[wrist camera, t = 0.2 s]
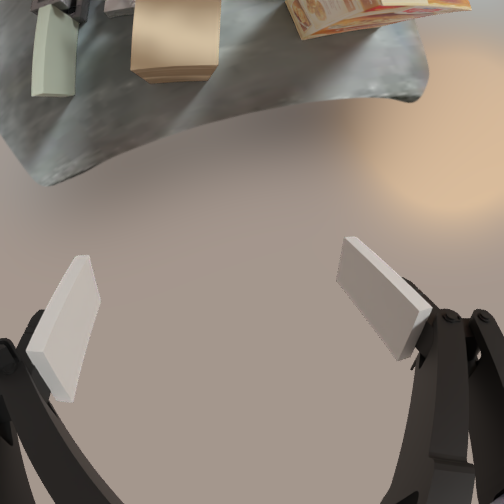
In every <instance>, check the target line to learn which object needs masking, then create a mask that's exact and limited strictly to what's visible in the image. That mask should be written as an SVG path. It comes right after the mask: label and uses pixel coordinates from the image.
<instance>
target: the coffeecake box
mask: <svg viewBox="0 0 504 504" xmlns="http://www.w3.org/2000/svg"><path fill="white" fill-rule="evenodd" d="M285 3H286V5H287V8H288V10H289V12H290V14H291V16H292V19H293V21H294V23H295V26H296V29H297V31H298V33H299V36H300V38H301V40H307V39H312V38H317V37H321V36H326V35H332V34H337V33H343V32H349V31H355V30H361V29H369V28H377V27H382V26H385V25H389V24H393V23H397V22H401V21H406V20H410V19H415V18H420V17H425V16H430V15H436V14H443V13H450V12H458V11H471V6H470V3H469V1H468V0H286V1H285Z"/></svg>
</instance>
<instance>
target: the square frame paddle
mask: <svg viewBox="0 0 504 504" xmlns="http://www.w3.org/2000/svg"><path fill="white" fill-rule="evenodd" d="M89 2H90V0H33V1H32V6H31V12H33V13H35V14H37V15H38V18H37V25H36V32H35V40H34V50H33V63H32V88H31V97H68V96H73V95H75V70H76V51H77V39H78V29H79V23H83V22H87V17H88V9H89ZM75 6H76V11H75V13H71V14H68V11H69V8H71V7H75Z"/></svg>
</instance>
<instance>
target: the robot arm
mask: <svg viewBox="0 0 504 504" xmlns="http://www.w3.org/2000/svg"><path fill="white" fill-rule="evenodd" d="M336 281H337V282H338V284H339V285H340V286H341V288H342V289H343V290H344V291H345V293H346V294H347V295H348V296H349V298H350V299H351V300H352V302H353V303H354V304H355V305H356V307H357V308H358V309H359V311H360V312H361V313H362V315H363V316H364V317H365V318H366V320H367V321H368V322H369V324H370V325H371V326H372V328H373V329H374V330H375V332H376V333H377V334H378V336H379V337H380V338H381V340H382V341H383V342H384V344H385V345H386V347H387V348H388V349H389V351H390V352H391V353H392V355H393V356H394V357H395V359H396V360H397V361H400V360H403V359H406V358H409V357H410V356H411V354H412V352H413V350H414V348H415V347H416V348H417V349H418V351H419V353H418V355H417V358H416V360H415V361H414V363H413V365H412V367H411V370H413V368H414V367H415V366H416V367H415V376H414V383H413V390H412V396H411V403H410V408H409V414H408V419H407V424H406V430H405V434H404V439H403V443H402V447H401V451H400V455H399V459H398V463H397V466H396V470H395V473H394V477H393V480H392V484H391V486H390V489H389V490H388V492H387V494H386V495H385V497H384V498H383V500H382V502H381V503H380V504H471V500H472V494H473V487H474V480H475V478H476V489H477V497H478V501H479V504H504V336H503V334H502V332H501V330H500V328H499V327H498V325H497V323H496V321H495V319H494V318H493V316H492V315H491V314H490V313H488V312H487V311H486V310H481V309H476V310H474V312H473V314H472V316H471V318H461V317H460V316H459V314H458V313H456V312H455V311H452V310H450V309H439V308H438V307H437V306H436V305H435V304H434V303H433V302H432V301H431V300H430V299H429V298H428V297H427V296H426V295H425V294H423V293H422V292H421V291H420V290H419V289H418V288H417V287H416V286H415V285H414V284H413V283H412V282H411V281H409V280H407V279H405V278H403V277H400V276H399V275H398V274H397V273H396V272H395V271H394V270H393V269H392V268H391V267H390V266H388V265H387V264H386V263H385V262H384V261H383V260H382V259H381V258H380V257H379V256H378V255H376V254H375V253H374V252H373V251H372V250H371V249H370V248H369V247H367V246H366V245H365V244H364V243H363V242H362V241H361V240H359V239H358V238H357V237H344V240H343V246H342V252H341V258H340V263H339V268H338V274H337V279H336ZM100 303H101V298H100V295H99V291H98V288H97V284H96V280H95V277H94V273H93V269H92V265H91V261H90V256H89V255H81V256H75V258H74V260H73V261H72V263H71V265H70V266H69V268H68V270H67V271H66V273H65V275H64V276H63V278H62V280H61V282H60V284H59V285H58V287H57V289H56V290H55V293H54V294H53V296H52V298H51V300H50V302H49V303H48V305H47V307H46V309H45V310H39V311H38V312H37V313H36V314H35V315H34V316H33V317H32V318H31V320H30V322H29V324H28V327H27V328H26V330H25V332H24V334H23V336H22V338H21V340H20V342H19V344H18V346H17V348H15V346H14V345H13V343H12V341H11V340H9V339H7V338H1V339H0V504H35V501H34V498H33V495H32V492H31V489H30V485H29V482H28V479H27V475H26V472H25V468H24V464H23V460H22V455H21V452H20V447H19V442H18V436H19V438H20V440H21V442H22V445H23V447H24V449H25V451H26V453H27V455H28V457H29V459H30V461H31V463H32V465H33V467H34V469H35V470H36V472H37V474H38V476H39V477H40V479H41V481H42V483H43V484H44V486H45V488H46V489H47V491H48V493H49V494H50V496H51V497H52V499H53V500H54V502H55V504H124V503H123V502H122V501H121V500H120V499H119V498H118V497H117V496H116V494H115V493H114V492H113V491H112V490H111V489H110V487H109V486H108V485H107V484H106V483H105V481H104V480H103V479H102V478H101V477H100V475H99V474H98V473H97V472H96V470H95V469H94V468H93V466H92V465H91V464H90V462H89V461H88V460H87V458H86V457H85V456H84V454H83V453H82V452H81V450H80V449H79V447H78V446H77V444H76V443H75V441H74V440H73V438H72V437H71V435H70V434H69V432H68V431H67V429H66V428H65V426H64V424H63V423H62V421H61V419H60V418H59V416H58V414H57V413H56V411H55V409H54V408H53V406H52V404H51V403H50V401H49V396H50V393H52V395H53V396H54V398H55V399H56V400H57V401H62V402H73V401H74V397H75V392H76V388H77V383H78V379H79V375H80V371H81V367H82V363H83V359H84V356H85V352H86V348H87V345H88V341H89V338H90V335H91V331H92V328H93V325H94V321H95V318H96V315H97V312H98V309H99V306H100ZM480 351H481V358H480V359H479V360H478V358H477V355H478V353H479V352H480ZM468 432H469V434H470V440H471V446H472V453H473V461H474V465H473V464H470V463H468V462H467V448H468ZM17 434H18V436H17Z"/></svg>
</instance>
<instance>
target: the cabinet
mask: <svg viewBox="0 0 504 504" xmlns="http://www.w3.org/2000/svg"><path fill="white" fill-rule="evenodd" d="M104 13H105V14H106V15H107V16H108V17H109V18H112V17H118V16H125V15H132V14H134V20H133V32H132V47H131V71H132V72H134V73H135V74H137V75H138V76H140V77H141V78H143V79H144V80H146V81H147V82H148V83H150V84H155V83H168V82H186V81H208V80H209V78H210V77H211V75H212V74H213V72H214V71H215V69H216V68H217V66H218V58H219V34H220V14H221V0H105V6H104Z"/></svg>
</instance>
